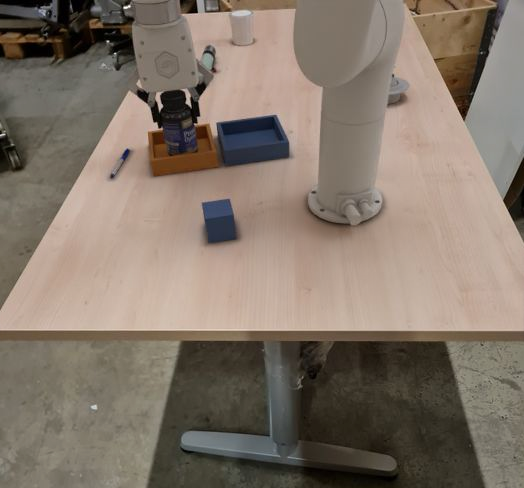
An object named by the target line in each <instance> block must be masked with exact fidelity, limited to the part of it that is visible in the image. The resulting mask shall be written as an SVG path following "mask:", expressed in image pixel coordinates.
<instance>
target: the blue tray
mask: <svg viewBox="0 0 524 488" xmlns="http://www.w3.org/2000/svg"><path fill="white" fill-rule="evenodd" d="M215 125H216V133H217V138H218V142H219V147H220V149H221V154H222V158H223V161H224V164H225V166H226V167H229V166H235V165H243V164H248V163H255V162H263V161H270V160H277V159H285V158H290V140H289V138H288V136H287V134H286V132H285V129H284V128H283V126H282V123H281V121H280V120H279V117H278V115H277V114H270V115H262V116H255V117H254V116H253V117H248V118H240V119H233V120H225V121H224V120H223V121H218V122H217V121H216V122H215Z"/></svg>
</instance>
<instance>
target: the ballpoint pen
mask: <svg viewBox="0 0 524 488" xmlns="http://www.w3.org/2000/svg"><path fill="white" fill-rule="evenodd" d="M130 152H131V150H130V149H129V148H126V149H125V150H124V152H123V153H122V155H121V157H120V160H119V161H118V162H117V164H116V165H115V166H114V168H113V171H112V172H111V173H110V176H109V178H110V179H113V178H114V177H115V176H116V174H117V172H118V171H119V169H120V168H121V166H122V164H123V163H124V162H125V160H126V159H127V157H128V156H129V154H130Z"/></svg>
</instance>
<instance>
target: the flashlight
mask: <svg viewBox="0 0 524 488" xmlns="http://www.w3.org/2000/svg"><path fill="white" fill-rule="evenodd" d="M216 56H217V50H216V48H215V46H213V45H212V44H207V45H205V46H204V49H203V52H202V55H201V59H200V60H199V61H200V62H201V63H202V64H203V65H205V66H206V67H207V68H208V69H209V70H210V71H212V72H214V73H216V72H217V70H218V69H217V68H215V67H214V62H215V59H216ZM198 75H199V81H200V80H202V78H203V75H202V74H201V73H200V72H198ZM198 83H199V82H198Z"/></svg>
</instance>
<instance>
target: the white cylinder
mask: <svg viewBox="0 0 524 488" xmlns="http://www.w3.org/2000/svg"><path fill="white" fill-rule="evenodd" d="M228 17H229V24H230V28H231V34H232V35H231V36H232V42H233V44H234V45H236V46H248V45H251V44H253V43H254V26H255V24H254V23H255V12H254V11H253V10H251V9H236V10H232V11H231V12H229V13H228Z"/></svg>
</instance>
